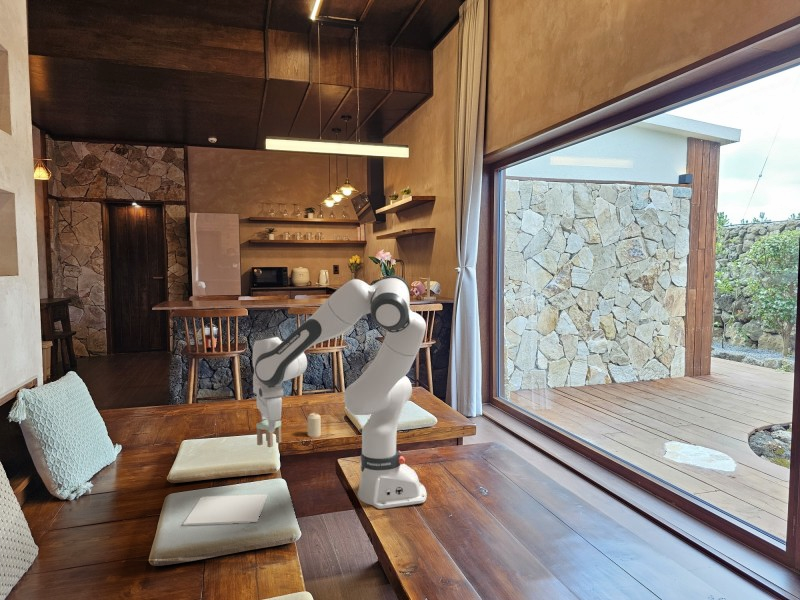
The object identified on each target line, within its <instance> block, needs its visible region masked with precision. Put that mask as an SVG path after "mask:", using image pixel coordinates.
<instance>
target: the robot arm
mask: <svg viewBox="0 0 800 600" xmlns="http://www.w3.org/2000/svg"><path fill="white" fill-rule="evenodd" d="M410 296H411V291H410V288H409V284H408V283H407V281H406V280H405V279H404V278H402V277H401V276H398V275H393V274H392V275H388V276H383V278H379V279H374V280H372V281H371V283H370V285H369V284H368V283H367V282H365V281H363V280H361V279H358V278H353V279H351V280H349V281H347V282H345V284H343V285H341V286H339V288H337V289H336V290H335V291H334V292H333V293H332V294H331V295H330V296H329V297H328V298H327V299H326V300H324V302H323V303H322V304H321V306H319V307H318V309H316V311H314V313H313V314H312V315H311V316H309V317H308V318H307V319H306V320H305V321H304V322H303V323H302V324H301V325H300V326H299V327H298V328H296V330H294V331H293V332H292V333H290V335H289V336H287V337H286V338H285V339H284V340H281V339H280V337H278V336H275V335H272V336H266V337H261V338H257V339H256V340H255V341H254V344H253V347H252V367H253V376H252V386H253V387H252V388H253V389H252V391H253V394H256V408H257V409H258V411H259V412H260V415H261V422H262V421H264V420H268V432H269V433H273V434H274V432H276V428H275V423H276V421H281V418H282V404H283V403H282V401H283V400H282V397H283V396H284V389H283V386H282V383H283V382H286V381H289V380H291V379H295V378H297V377H300V376H301V375H303V374H305V372H306V371H307V368H308V365H309V363H308V357H307V355H306V353H305V351H306V350H308V349H310V348H311V347H313V346H315V345H317V344H319V343H323V342H325V341H329V340H331V339H336V338H337V337H339V336H342V335H343V334H345V333H346V332H347V331H349V330H350V329H351V328H353V326H355V324H356V323H357V322H358V321H360V319H362V317H364V316H366V315H368V314H370V316H371V319H372V320H373V322H374V323H375V324H376V325H377V326H378V327H381V328H382V329H383V330H386V331H387V333H386V334H385V335H384V336H385V337H384V340H383V341H382V344H381V346H380V348H379V349H378V352H377V354H376V356H375V357H374V359H373V360H372V361H371V363H370V365H369V366H368V367H367V368H366V369H365V370H364V372H363V373H362V374H361V375H360V376H359V377H358V378H357V379H356V380H355V381H354V382H352V383H350V384H349V385H348V386H347V387H346V389H345V391H344V393H343V394H344V396H343V401H344V405H345V408H346V409H347V411H348V412H349V413H350V414H352V415H354V416H370V417H369V418H368V419H369V420H368V419H367V420H368V421H367V422H366V423H365V424H364V425H363V427H362V431H361V452H360V457H359V458H360V461H359V462H360V463H359V464H360V465H359V466H360V471H361V474H360V481H359V486H358V491H357V498H358V499H359V500H360V501H362V502H363V503H365V504H367V505H371V506H373V507H374V508H376V509H379V510H380V509H381V510H382V509H388V508H396V507H405V506H410V505H417V504H423V503H424V502H425V501H427V497H428V496H427V495H428V493H427V489H426V487H425V486H424V485H423V483H421V482H420V480H419V476H418V474H417V472H416V471H415V470H414V469H413V468H412V467H410V466H408V465H407V464H405V462H406V459H405V457H404V456H403V454H402V452H401V451H400V450H397V433H398V425H399V421H400V418H401V415H402V412H403V409H404V407H405V405H406V404H407V402H408V401H409V400H410V398H411V397H412V393H413V387H412V383H411V381H410V379H409V377H408V376H406V375H407V374H408V373H410V370H411V368H412V365H413V363H414V361H415V359H416V357H417V355H418V353H419V351H420V348H421V345H422V343H423V341H424V337H425V334H426V329H427V324H426V323H427V322H426V320H425V319H424V317H423V316H421V314H419V313H417V312H416V311H413V310H411V307H410V302H411V300H410Z"/></svg>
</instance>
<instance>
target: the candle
mask: <svg viewBox="0 0 800 600" xmlns="http://www.w3.org/2000/svg"><path fill="white" fill-rule="evenodd" d="M321 421H322V418H321V415H320V414H319V413H317V412H313V413H309V414H308V416H307V436H308V437H310V438H319V437H320V436H321V435H322V431H321V430H322V427H321V426H322V425H321V423H322V422H321Z"/></svg>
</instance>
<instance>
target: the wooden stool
mask: <svg viewBox="0 0 800 600" xmlns="http://www.w3.org/2000/svg"><path fill="white" fill-rule="evenodd" d="M263 430H264V431H265V441H266V442H267V444H266V445H267V448H272V447H274V442H273V441H274V437H273V434H274V432H273V433H269V432H268V420H264V421H262V420H261V421H260V422H257V423H256V444H257V446H262V445H263V442H264V440H263V439H264V438H263ZM275 443H276V444H277V443H278V444H280V443H282V421H281V420H280V421H276V423H275Z"/></svg>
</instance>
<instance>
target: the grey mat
mask: <svg viewBox="0 0 800 600" xmlns="http://www.w3.org/2000/svg"><path fill="white" fill-rule="evenodd" d="M268 495H269V494H268V493H267V494H265V493H264V494H263V493H262V494H243V495H242V494H241V495H239V494H238V495H214V496H211V495H210V496H201V497H200V498H199V500H198V501H197V503H196V504H195V505H194V506H193V509H192V510H191V511H190V513H189V515H188V516H187V518H186V519H185V520H184V522H182V523H183V524H182V525H183V527H186V526H187V527H190V526H212V525H213V526H215V525H233V523H239V524H251V523H250V522H257V521H258V522H259V520H258V519H260V517H259V516H261V515H262V511H263V509H264V506H265V503H266V501H267V498H268ZM258 522H257V523H258Z"/></svg>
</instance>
